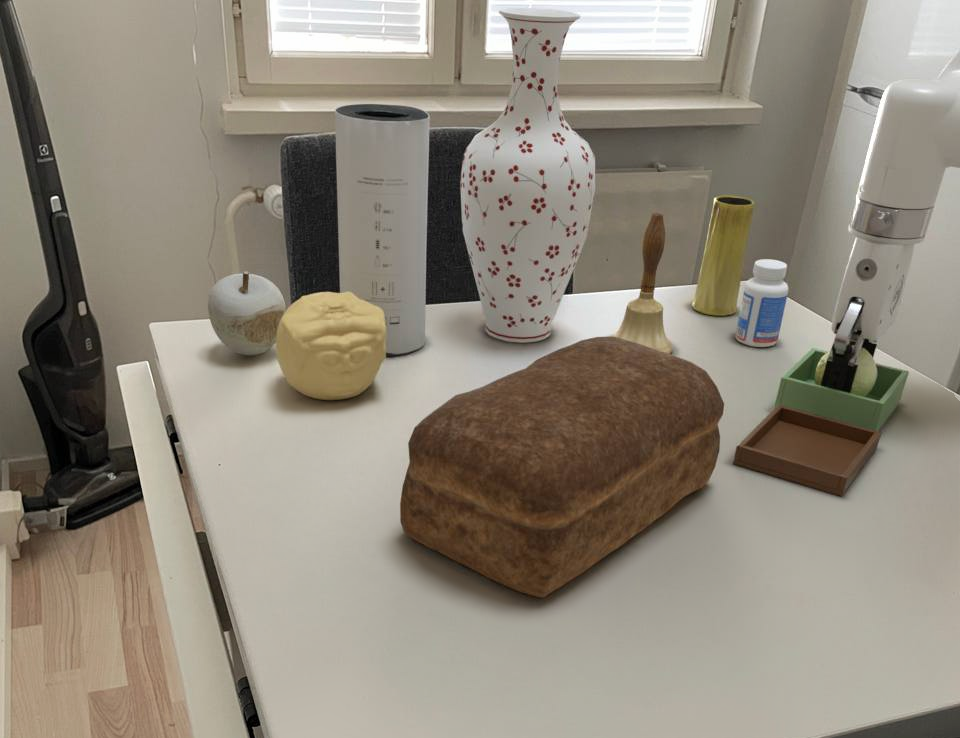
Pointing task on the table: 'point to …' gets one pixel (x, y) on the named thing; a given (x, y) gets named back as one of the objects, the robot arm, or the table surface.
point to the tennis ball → (863, 375)
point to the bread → (560, 461)
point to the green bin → (841, 394)
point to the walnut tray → (807, 449)
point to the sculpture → (331, 345)
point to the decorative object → (246, 312)
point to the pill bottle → (763, 304)
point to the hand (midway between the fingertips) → (843, 384)
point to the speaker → (384, 214)
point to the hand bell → (648, 295)
